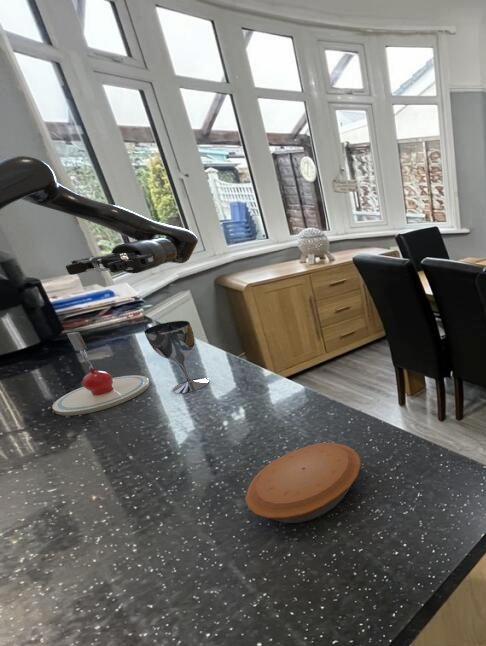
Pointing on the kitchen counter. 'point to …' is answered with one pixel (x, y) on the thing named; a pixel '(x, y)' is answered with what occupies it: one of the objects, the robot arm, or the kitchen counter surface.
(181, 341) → the wine glass
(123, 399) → the plate
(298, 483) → the pie
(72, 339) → the red bulb with handle
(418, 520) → the kitchen counter surface
